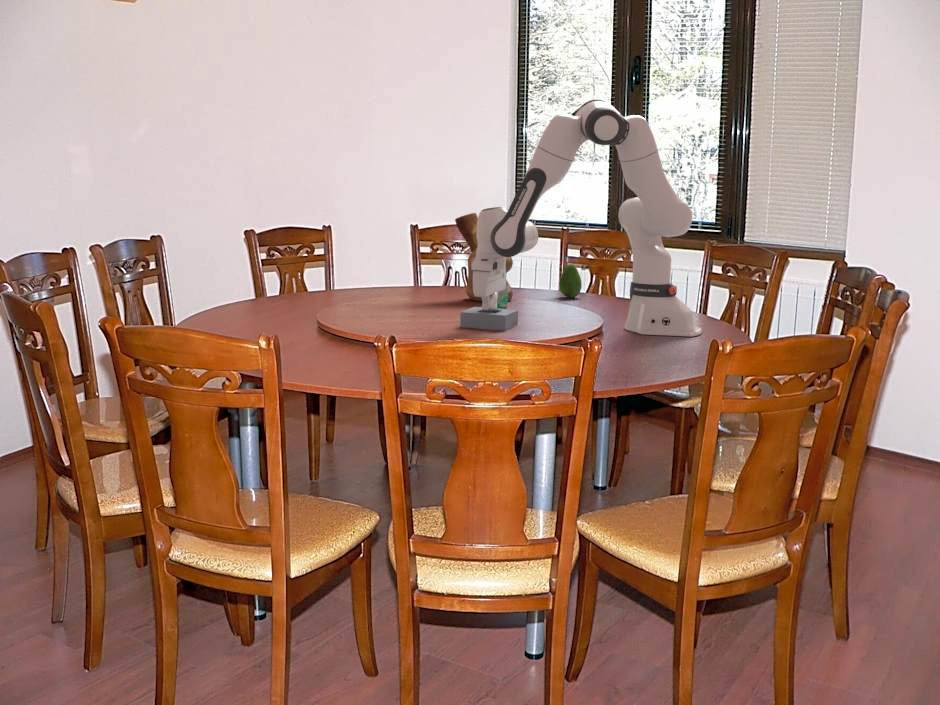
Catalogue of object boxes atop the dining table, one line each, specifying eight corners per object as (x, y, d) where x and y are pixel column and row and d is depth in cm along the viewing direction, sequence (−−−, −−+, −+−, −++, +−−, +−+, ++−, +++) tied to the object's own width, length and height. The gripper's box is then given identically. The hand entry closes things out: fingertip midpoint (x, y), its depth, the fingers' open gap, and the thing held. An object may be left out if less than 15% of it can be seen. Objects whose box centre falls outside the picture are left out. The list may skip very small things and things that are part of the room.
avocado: (570, 295, 390) (571, 262, 388) (585, 298, 384) (586, 264, 382) (554, 297, 385) (555, 263, 383) (569, 300, 379) (570, 266, 377)
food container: (506, 319, 333) (507, 287, 331) (486, 318, 334) (487, 286, 332) (512, 314, 345) (513, 283, 343) (493, 313, 346) (494, 282, 344)
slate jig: (517, 324, 324) (518, 309, 323) (505, 330, 313) (505, 315, 312) (474, 321, 329) (474, 306, 328) (460, 327, 318) (460, 312, 317)
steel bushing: (498, 318, 322) (499, 291, 320) (494, 320, 318) (494, 293, 316) (484, 317, 323) (485, 290, 322) (480, 319, 319) (480, 292, 318)
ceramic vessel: (499, 305, 362) (501, 216, 357) (444, 299, 373) (445, 212, 367) (520, 300, 376) (523, 213, 370) (467, 294, 387) (468, 210, 381)
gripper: (492, 258, 328) (491, 303, 330) (469, 264, 309) (468, 312, 311) (511, 259, 326) (510, 304, 328) (489, 265, 307) (488, 313, 309)
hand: (489, 308), depth 320 cm, fingers closed on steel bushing, 4 cm apart
